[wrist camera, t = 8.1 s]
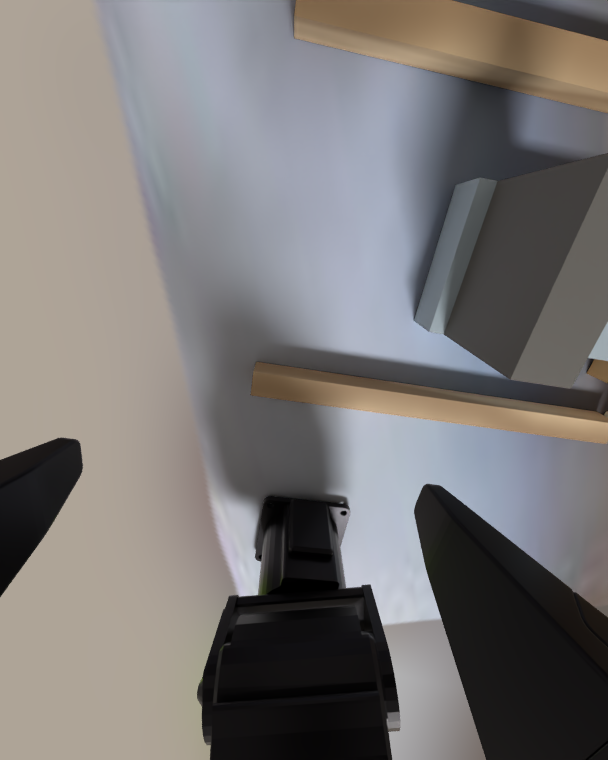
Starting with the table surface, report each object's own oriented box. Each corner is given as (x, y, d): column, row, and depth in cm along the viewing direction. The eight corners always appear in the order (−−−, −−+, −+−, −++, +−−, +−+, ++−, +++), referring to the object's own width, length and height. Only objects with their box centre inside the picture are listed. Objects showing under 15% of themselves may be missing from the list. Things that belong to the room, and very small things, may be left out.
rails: (585, 430, 23) (605, 444, 21) (253, 383, 21) (250, 395, 19) (778, 111, 16) (828, 98, 14) (299, -10, 14) (300, -40, 12)
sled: (600, 375, 21) (768, 454, 14) (406, 344, 20) (473, 412, 12) (702, 200, 17) (1018, 176, 10) (466, 149, 16) (619, 75, 8)
